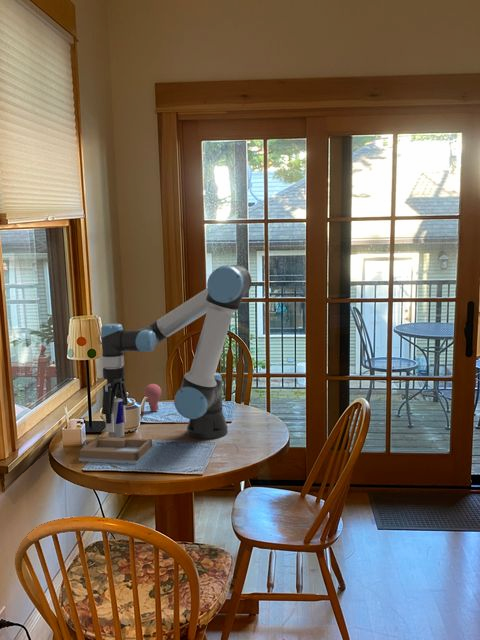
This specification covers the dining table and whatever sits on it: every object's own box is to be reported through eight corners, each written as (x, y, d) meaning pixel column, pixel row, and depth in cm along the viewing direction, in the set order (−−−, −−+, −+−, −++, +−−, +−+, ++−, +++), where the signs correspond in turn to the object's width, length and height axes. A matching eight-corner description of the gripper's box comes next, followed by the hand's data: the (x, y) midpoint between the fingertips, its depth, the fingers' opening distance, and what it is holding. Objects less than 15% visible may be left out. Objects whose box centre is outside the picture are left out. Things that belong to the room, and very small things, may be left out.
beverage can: (121, 442, 205) (119, 401, 204) (106, 441, 207) (104, 401, 205) (127, 437, 211) (125, 397, 209) (112, 436, 212) (110, 397, 210)
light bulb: (143, 413, 242) (141, 385, 240) (148, 408, 249) (147, 381, 247) (159, 414, 240) (158, 386, 239) (164, 409, 247) (163, 382, 246)
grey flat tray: (153, 447, 200) (152, 438, 199) (136, 464, 184) (135, 454, 184) (99, 444, 204) (99, 435, 203) (78, 461, 188) (78, 451, 188)
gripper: (116, 360, 217) (118, 417, 220) (89, 373, 195) (92, 436, 198) (134, 361, 216) (137, 418, 218) (110, 374, 194) (113, 437, 196)
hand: (116, 427), depth 208 cm, fingers open, 10 cm apart
